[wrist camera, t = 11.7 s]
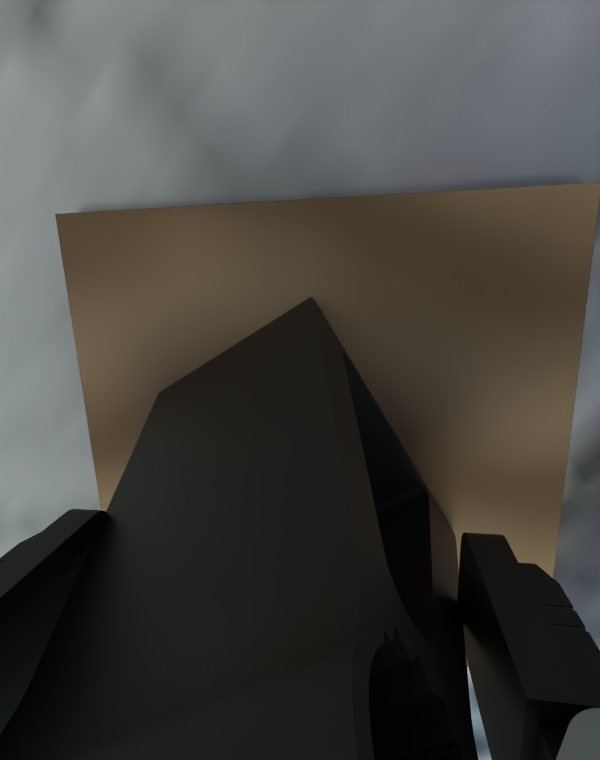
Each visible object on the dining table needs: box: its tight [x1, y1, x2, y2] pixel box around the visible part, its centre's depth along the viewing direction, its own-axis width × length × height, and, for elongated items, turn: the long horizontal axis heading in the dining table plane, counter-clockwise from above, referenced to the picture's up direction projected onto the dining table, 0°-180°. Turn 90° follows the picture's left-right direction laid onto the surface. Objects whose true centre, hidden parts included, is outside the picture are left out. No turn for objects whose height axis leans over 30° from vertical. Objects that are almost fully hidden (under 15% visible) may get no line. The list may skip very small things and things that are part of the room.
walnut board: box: [55, 182, 600, 666], centre depth 15 cm, size 16×16×1 cm
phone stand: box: [0, 297, 478, 760], centre depth 9 cm, size 9×6×12 cm, turn 32°
